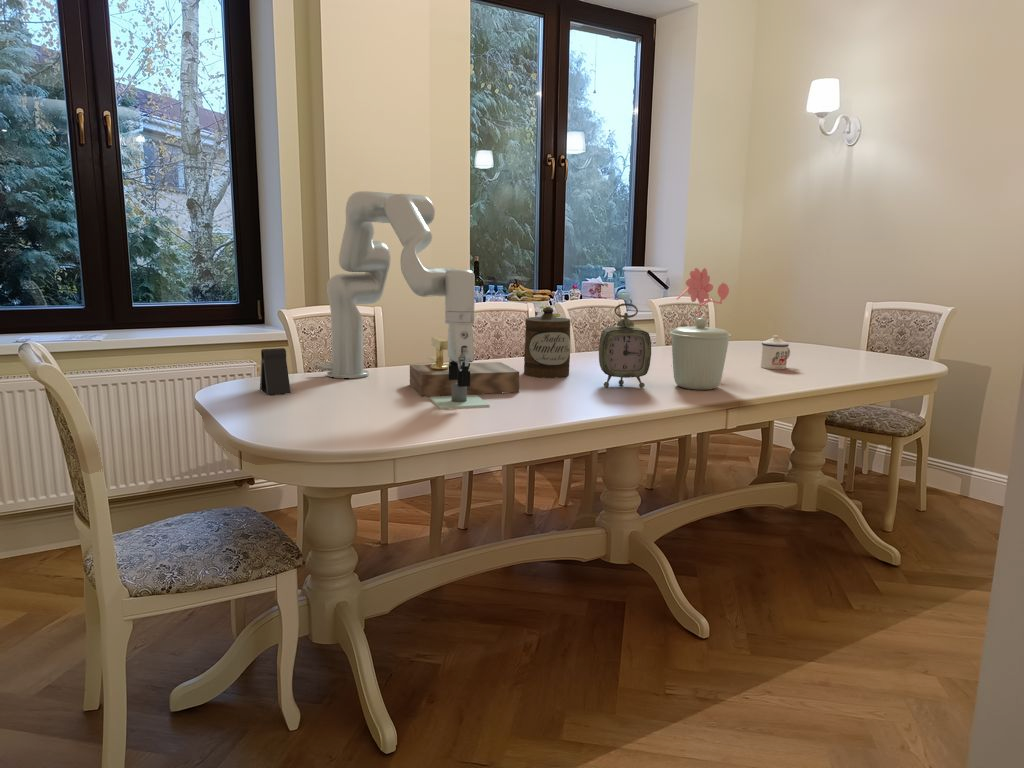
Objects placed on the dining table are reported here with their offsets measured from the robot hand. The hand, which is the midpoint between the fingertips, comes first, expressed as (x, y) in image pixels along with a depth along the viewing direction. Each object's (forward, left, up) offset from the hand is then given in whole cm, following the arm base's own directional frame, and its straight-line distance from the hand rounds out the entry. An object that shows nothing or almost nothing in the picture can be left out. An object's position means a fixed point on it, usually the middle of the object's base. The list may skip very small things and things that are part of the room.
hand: (459, 382), depth 195 cm
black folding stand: (-46, +25, -6) cm, 53 cm away
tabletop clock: (+54, +13, -6) cm, 56 cm away
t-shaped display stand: (-1, +21, +1) cm, 22 cm away
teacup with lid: (+126, +35, -6) cm, 131 cm away
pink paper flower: (+96, +42, -6) cm, 105 cm away
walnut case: (+6, +19, -5) cm, 21 cm away
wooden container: (+39, +38, -6) cm, 55 cm away
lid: (0, 0, -6) cm, 6 cm away
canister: (+76, +7, -6) cm, 77 cm away
